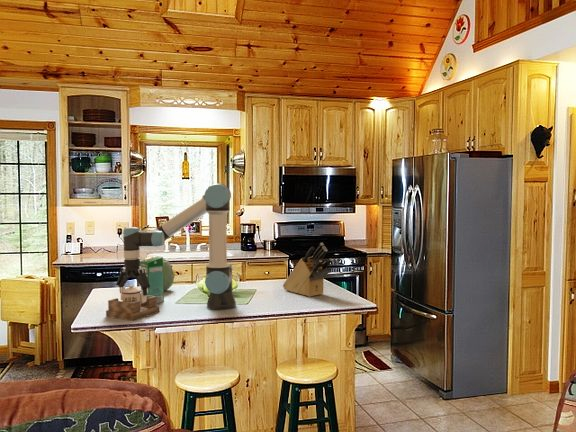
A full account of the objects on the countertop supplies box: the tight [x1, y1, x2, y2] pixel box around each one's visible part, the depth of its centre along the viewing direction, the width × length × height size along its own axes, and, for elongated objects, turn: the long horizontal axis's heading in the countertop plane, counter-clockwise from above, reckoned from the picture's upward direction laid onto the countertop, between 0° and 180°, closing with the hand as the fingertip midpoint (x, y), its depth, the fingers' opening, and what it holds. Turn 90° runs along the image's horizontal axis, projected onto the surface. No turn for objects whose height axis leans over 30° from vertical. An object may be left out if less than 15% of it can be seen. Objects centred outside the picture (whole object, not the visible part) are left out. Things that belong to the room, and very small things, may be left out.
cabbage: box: [163, 258, 176, 292], centre depth 307 cm, size 16×19×20 cm
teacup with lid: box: [121, 284, 147, 308], centre depth 250 cm, size 12×9×12 cm
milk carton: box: [139, 255, 165, 304], centre depth 278 cm, size 9×9×25 cm
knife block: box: [282, 242, 333, 298], centre depth 296 cm, size 11×35×31 cm, turn 36°
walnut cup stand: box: [105, 295, 160, 321], centre depth 250 cm, size 17×19×8 cm
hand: (133, 300), depth 250 cm, fingers open, 13 cm apart
